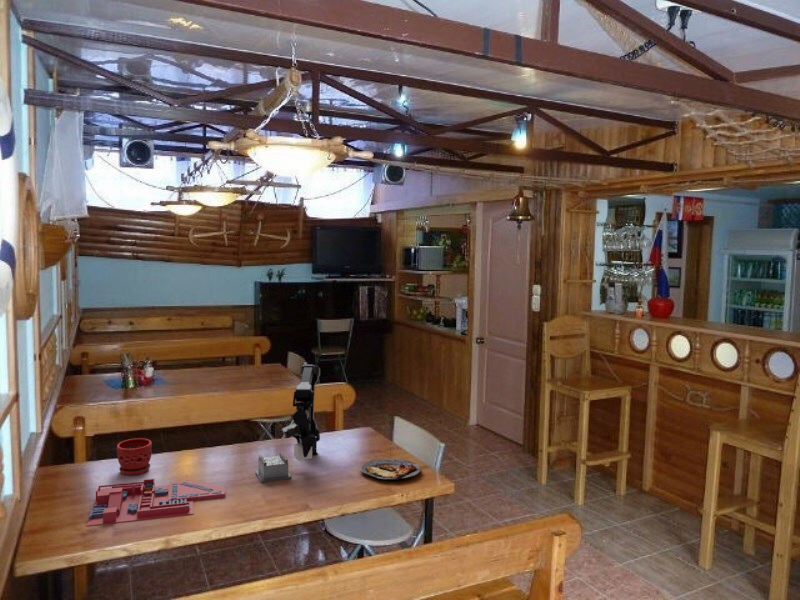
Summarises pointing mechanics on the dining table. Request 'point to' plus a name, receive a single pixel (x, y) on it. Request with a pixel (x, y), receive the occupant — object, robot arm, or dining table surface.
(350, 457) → the dining table surface
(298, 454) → the plain white cube
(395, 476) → the food plate
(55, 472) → the dining table surface
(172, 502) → the red architectural model
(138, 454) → the plant pot
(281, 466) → the motor housing
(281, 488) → the dining table surface
